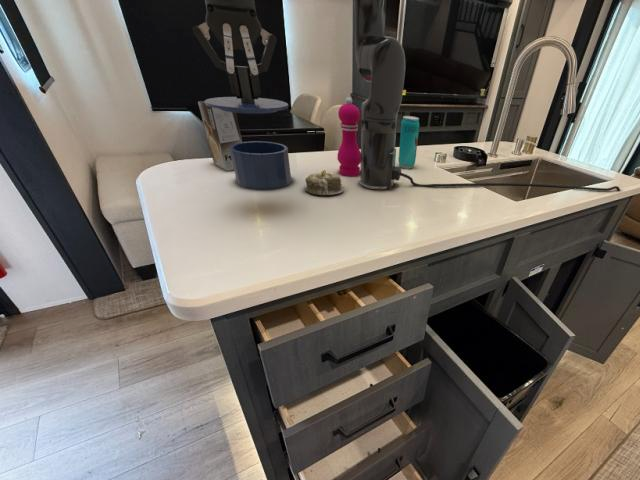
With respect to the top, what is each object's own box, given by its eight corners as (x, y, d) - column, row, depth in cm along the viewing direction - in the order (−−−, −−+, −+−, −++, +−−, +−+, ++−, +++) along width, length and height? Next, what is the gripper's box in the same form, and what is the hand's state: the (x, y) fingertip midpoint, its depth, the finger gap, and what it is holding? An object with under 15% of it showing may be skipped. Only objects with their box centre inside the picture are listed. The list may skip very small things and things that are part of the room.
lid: (300, 108, 67) (296, 69, 63) (269, 118, 56) (262, 72, 52) (232, 100, 68) (225, 62, 64) (188, 109, 56) (175, 63, 52)
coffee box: (248, 168, 95) (236, 105, 85) (226, 171, 91) (211, 105, 81) (233, 160, 99) (220, 100, 90) (212, 163, 95) (196, 100, 86)
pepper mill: (359, 177, 97) (360, 100, 85) (335, 175, 96) (333, 97, 84) (362, 170, 102) (363, 97, 90) (339, 168, 102) (338, 94, 90)
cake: (298, 194, 83) (294, 172, 80) (318, 184, 91) (316, 164, 87) (332, 198, 80) (329, 176, 77) (350, 188, 88) (348, 167, 85)
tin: (298, 177, 92) (295, 145, 87) (278, 192, 81) (273, 157, 76) (253, 171, 93) (247, 139, 88) (226, 185, 82) (218, 150, 77)
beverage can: (414, 170, 108) (420, 119, 99) (397, 168, 108) (401, 117, 99) (414, 165, 113) (419, 117, 104) (398, 163, 113) (402, 115, 104)
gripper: (169, -45, 45) (205, 99, 56) (273, -27, 50) (288, 102, 61) (175, -36, 50) (206, 94, 61) (269, -21, 55) (283, 97, 66)
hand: (247, 97), depth 61 cm, fingers closed on lid, 2 cm apart
